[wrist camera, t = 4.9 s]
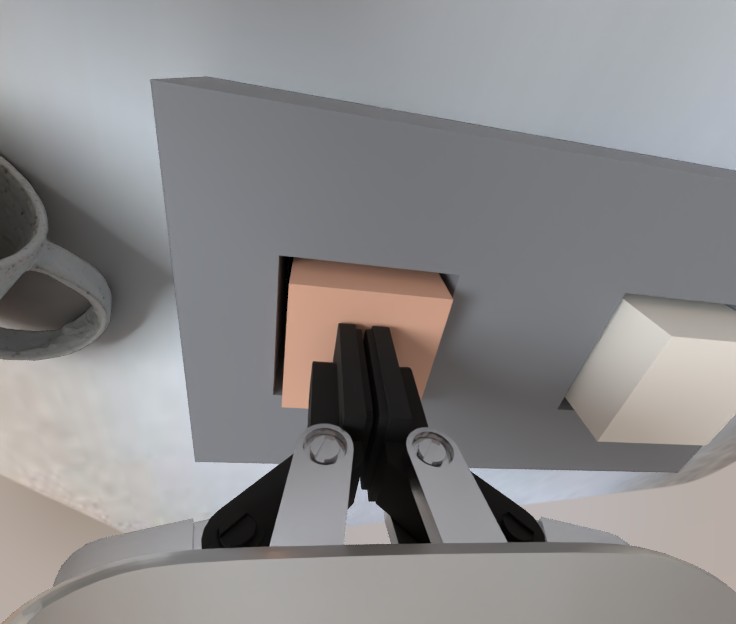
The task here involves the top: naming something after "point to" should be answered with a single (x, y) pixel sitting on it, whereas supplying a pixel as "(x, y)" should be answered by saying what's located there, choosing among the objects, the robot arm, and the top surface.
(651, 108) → the top surface
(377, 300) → the light orange cube
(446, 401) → the key panel
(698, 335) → the white key
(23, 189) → the ceramic mug
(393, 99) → the top surface
